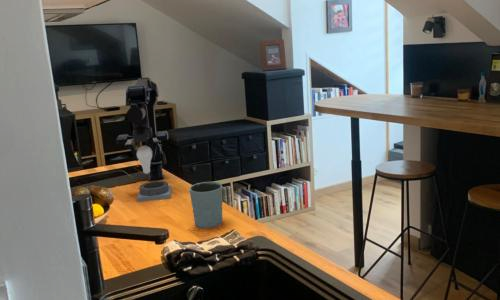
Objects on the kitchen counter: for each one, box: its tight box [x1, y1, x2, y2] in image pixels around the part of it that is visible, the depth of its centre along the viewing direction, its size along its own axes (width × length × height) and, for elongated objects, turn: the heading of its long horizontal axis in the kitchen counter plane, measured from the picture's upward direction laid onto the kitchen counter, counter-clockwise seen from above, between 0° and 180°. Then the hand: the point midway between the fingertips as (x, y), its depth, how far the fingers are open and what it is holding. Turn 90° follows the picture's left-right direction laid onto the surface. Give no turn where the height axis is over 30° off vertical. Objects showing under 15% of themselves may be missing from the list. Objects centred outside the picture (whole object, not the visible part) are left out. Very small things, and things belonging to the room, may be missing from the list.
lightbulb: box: [136, 145, 153, 175], centre depth 181 cm, size 6×6×11 cm
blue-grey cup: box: [189, 181, 223, 229], centre depth 146 cm, size 10×10×12 cm
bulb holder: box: [136, 180, 173, 203], centre depth 180 cm, size 12×12×4 cm
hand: (145, 159), depth 181 cm, fingers closed on lightbulb, 6 cm apart
